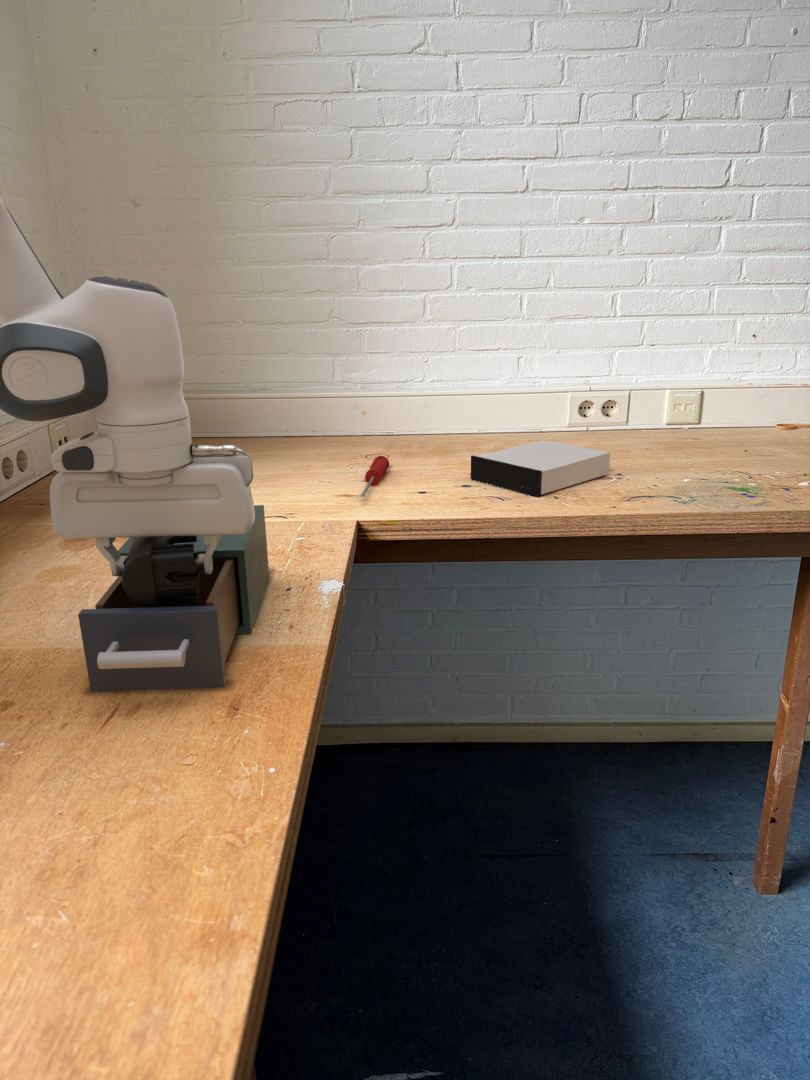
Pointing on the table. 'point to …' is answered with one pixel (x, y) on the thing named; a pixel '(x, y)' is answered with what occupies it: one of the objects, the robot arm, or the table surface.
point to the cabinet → (240, 565)
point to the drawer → (162, 637)
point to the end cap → (162, 572)
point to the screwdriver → (376, 472)
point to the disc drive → (539, 467)
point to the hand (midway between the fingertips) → (162, 573)
